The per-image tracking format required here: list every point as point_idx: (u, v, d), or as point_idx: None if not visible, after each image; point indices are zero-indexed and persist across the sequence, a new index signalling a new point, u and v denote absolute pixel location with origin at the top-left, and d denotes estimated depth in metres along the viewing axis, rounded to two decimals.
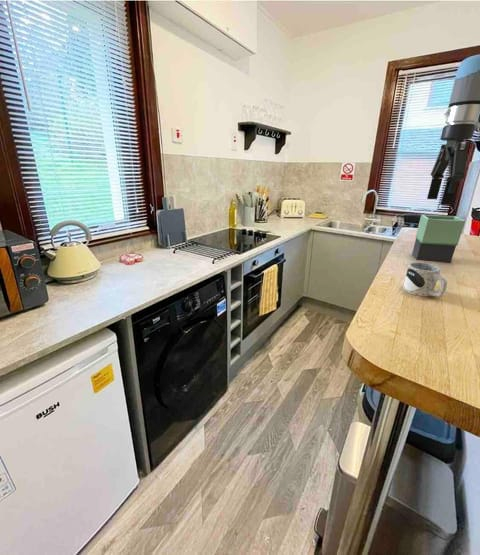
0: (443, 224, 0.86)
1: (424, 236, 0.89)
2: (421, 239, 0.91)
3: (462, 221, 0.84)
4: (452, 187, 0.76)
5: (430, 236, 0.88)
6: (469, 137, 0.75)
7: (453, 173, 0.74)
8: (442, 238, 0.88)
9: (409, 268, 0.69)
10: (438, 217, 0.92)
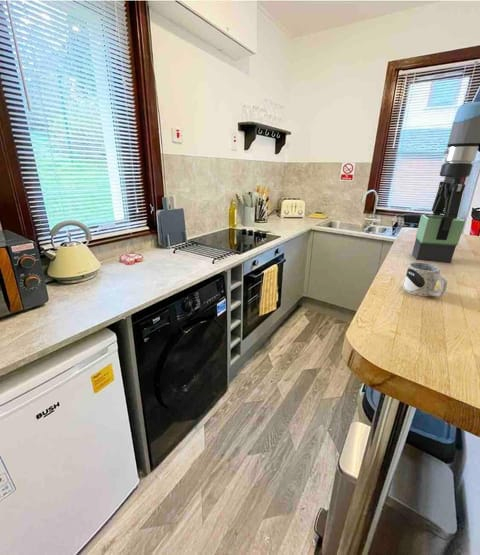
0: None
1: (424, 236, 0.89)
2: (421, 239, 0.91)
3: (462, 221, 0.84)
4: (446, 225, 0.84)
5: (430, 236, 0.88)
6: (466, 175, 0.81)
7: (447, 213, 0.82)
8: None
9: (409, 268, 0.69)
10: (438, 217, 0.92)
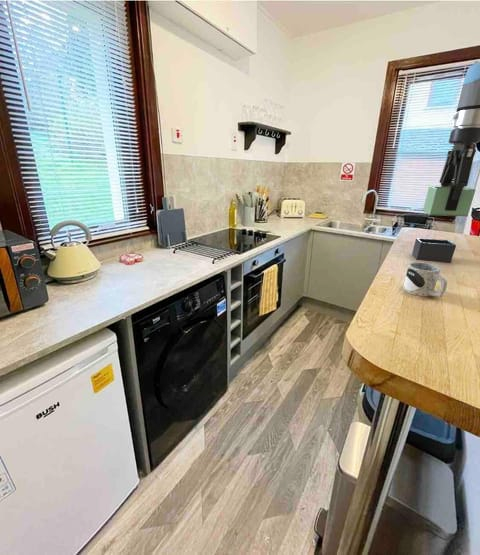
0: None
1: (432, 207, 0.85)
2: (429, 211, 0.87)
3: (472, 190, 0.81)
4: (456, 194, 0.81)
5: (439, 207, 0.85)
6: (477, 140, 0.77)
7: (457, 181, 0.78)
8: None
9: (409, 268, 0.69)
10: (446, 188, 0.88)
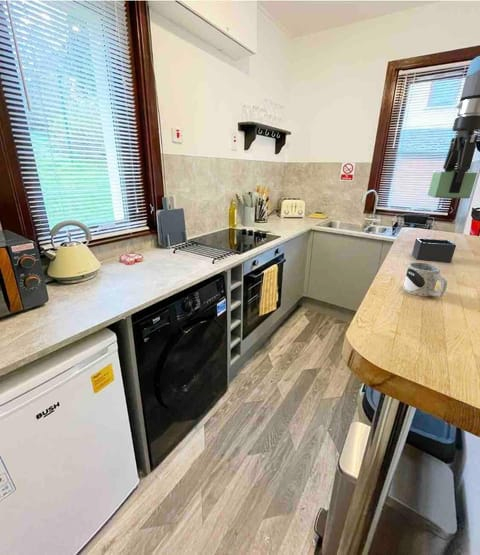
0: None
1: (437, 190, 0.92)
2: (434, 194, 0.94)
3: (474, 173, 0.88)
4: (459, 177, 0.88)
5: (443, 190, 0.92)
6: (479, 127, 0.84)
7: (461, 165, 0.86)
8: None
9: (409, 268, 0.69)
10: None
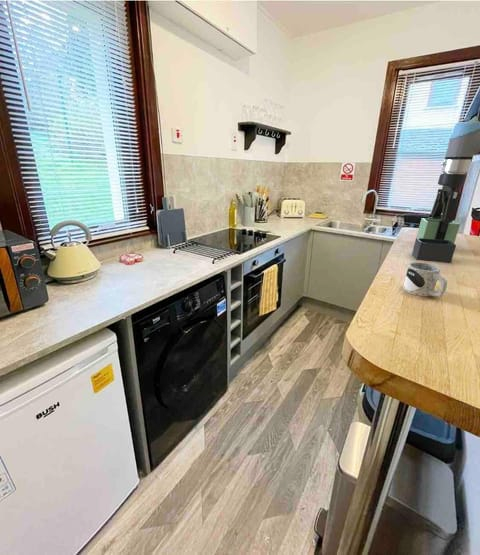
0: None
1: (424, 237, 1.00)
2: None
3: (457, 224, 0.96)
4: (443, 228, 0.96)
5: (429, 237, 1.00)
6: (461, 184, 0.92)
7: (444, 217, 0.94)
8: None
9: (409, 268, 0.69)
10: (436, 220, 1.04)
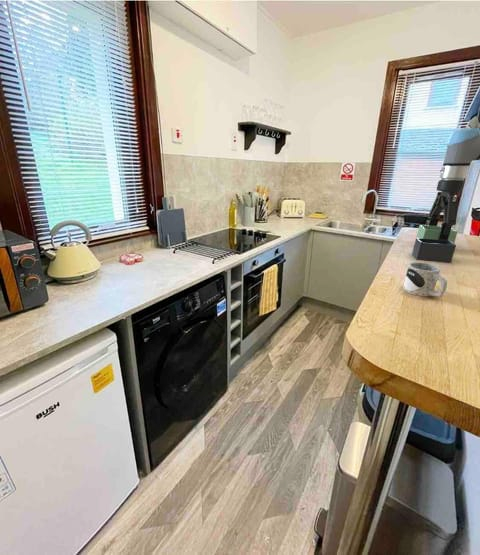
0: (438, 234, 0.99)
1: None
2: None
3: (455, 232, 0.97)
4: (446, 230, 0.94)
5: None
6: (460, 190, 0.93)
7: (447, 220, 0.92)
8: None
9: (409, 268, 0.69)
10: (434, 227, 1.05)
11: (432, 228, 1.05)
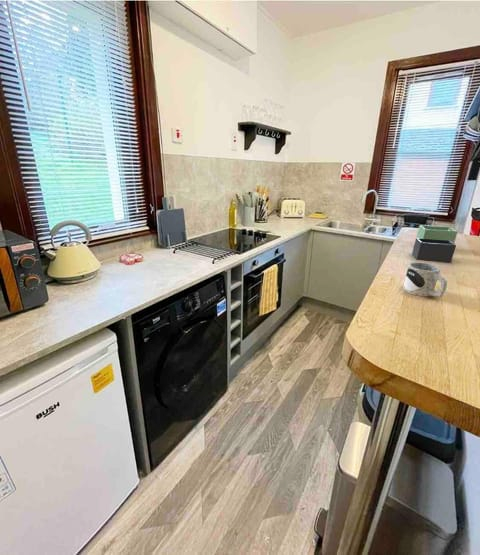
0: (438, 234, 0.99)
1: None
2: None
3: (455, 232, 0.97)
4: None
5: None
6: None
7: None
8: None
9: (409, 268, 0.69)
10: (434, 227, 1.05)
11: (432, 228, 1.05)
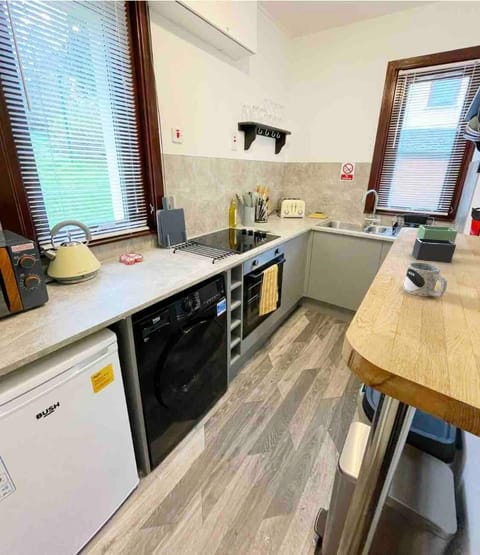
0: (438, 234, 0.99)
1: None
2: None
3: (455, 232, 0.97)
4: None
5: None
6: None
7: None
8: None
9: (409, 268, 0.69)
10: (434, 227, 1.05)
11: (432, 228, 1.05)
